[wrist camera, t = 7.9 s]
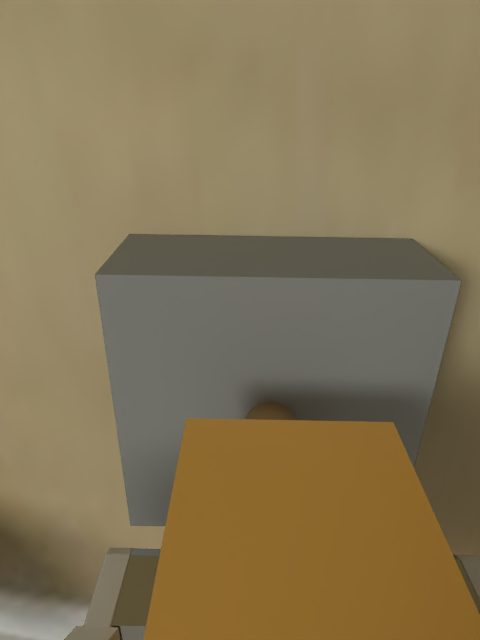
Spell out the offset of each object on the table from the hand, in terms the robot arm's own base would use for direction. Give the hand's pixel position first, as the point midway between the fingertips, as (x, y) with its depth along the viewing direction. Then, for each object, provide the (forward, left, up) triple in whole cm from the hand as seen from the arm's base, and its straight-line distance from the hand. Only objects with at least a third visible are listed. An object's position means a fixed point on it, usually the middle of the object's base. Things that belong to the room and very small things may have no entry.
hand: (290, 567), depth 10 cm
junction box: (0, 0, -9) cm, 9 cm away
